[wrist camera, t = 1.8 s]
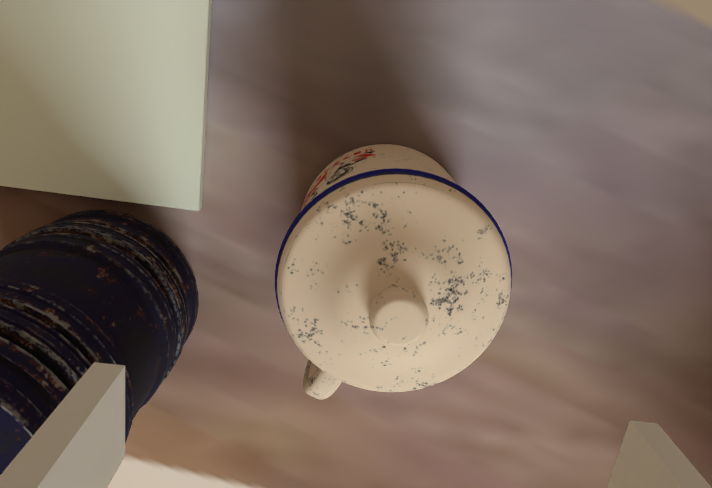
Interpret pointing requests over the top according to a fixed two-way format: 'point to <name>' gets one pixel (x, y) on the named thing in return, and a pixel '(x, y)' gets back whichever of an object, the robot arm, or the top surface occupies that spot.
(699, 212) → the top surface
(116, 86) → the coaster
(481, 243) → the teacup with lid
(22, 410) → the dark blue canister
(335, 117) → the top surface
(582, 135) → the top surface
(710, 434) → the top surface
